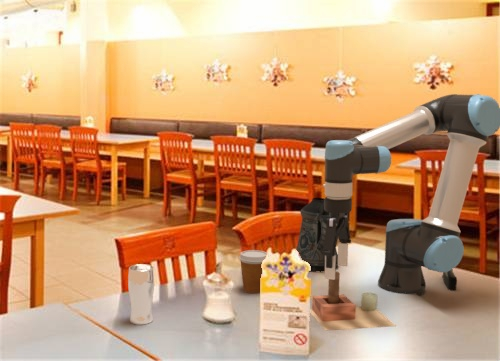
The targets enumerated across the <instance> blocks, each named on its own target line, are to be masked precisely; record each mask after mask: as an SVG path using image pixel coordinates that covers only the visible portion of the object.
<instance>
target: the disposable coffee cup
mask: <svg viewBox="0 0 500 361" xmlns="http://www.w3.org/2000/svg"><path fill="white" fill-rule="evenodd" d="M267 253H268V252H266V251H263V250H257V249H251V250H250V249H249V250H244V251H241V252H240V255H239V257H238V259H239V261H240V267H241V268H240V269H241V276H242V278H241V280H242V286H243V287H242V288H243V291H244V292H245V293H248V294H260V278H261V274H262V268H261V264H262V261H263V260H264V259H265V257H266V255H267Z"/></svg>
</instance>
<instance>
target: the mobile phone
mask: <svg viewBox="0 0 500 361" xmlns="http://www.w3.org/2000/svg"><path fill="white" fill-rule="evenodd" d="M453 269H454V268H452V269H451V270H450V271H448V272H442V275H441V277H442V279H443V282H444V284H445V287H446V288H447V290H449V289H450V291H456V290H457V283H458V278H457V276H456V274H455V273H454V270H453Z"/></svg>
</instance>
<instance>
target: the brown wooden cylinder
mask: <svg viewBox="0 0 500 361" xmlns="http://www.w3.org/2000/svg"><path fill="white" fill-rule="evenodd" d="M340 274H341V273H340V272H339V271H336V270H335V280H332V279H328V287H327V288H328V291H327V292H328V293H327V295H328V304H339V295H340Z"/></svg>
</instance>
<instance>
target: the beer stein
mask: <svg viewBox="0 0 500 361" xmlns="http://www.w3.org/2000/svg"><path fill="white" fill-rule="evenodd" d="M324 198H325V197H324ZM324 198H323V197H314V198H311V199H312V200H311V201H310V202H309V203H308V204H305V205H304V206H303V207H302V208H301V209H300V216H301V223H300V230H299V235H298V236H299V237H298V240H297V245H296V249H295V251H296V250H297V251H298V252H299V254H300V256H301V258H302V260H304V261H306V262H308V263H309V264H310V266H311V271H310V272H314V273H317V272H316V271H320V272H319V273H322V272H321V271H325V256H324V255H322V252H323V247H324V240H325V233H326V226H327V218H331V213H330V212H327V211H325V210H324ZM328 251H330V250H328ZM335 256H336V261H335V268H336V269H337V268H338V266H339V265H338V250H337V248H336V249H335Z"/></svg>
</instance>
